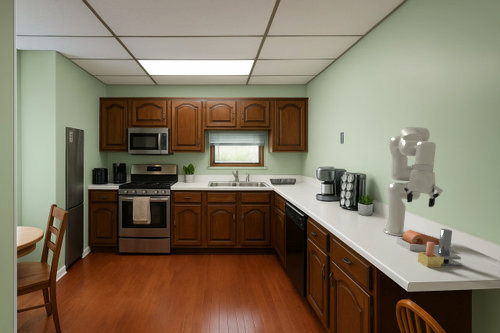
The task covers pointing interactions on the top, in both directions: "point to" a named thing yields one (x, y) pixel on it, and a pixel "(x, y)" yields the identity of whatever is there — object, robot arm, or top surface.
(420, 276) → the top surface
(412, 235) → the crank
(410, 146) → the robot arm
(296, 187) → the top surface
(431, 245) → the pin
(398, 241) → the pipe rack
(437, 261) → the yellow and grey fixture
